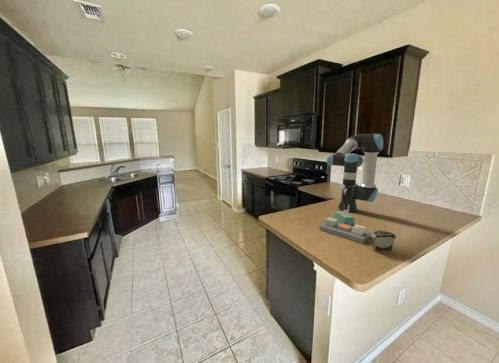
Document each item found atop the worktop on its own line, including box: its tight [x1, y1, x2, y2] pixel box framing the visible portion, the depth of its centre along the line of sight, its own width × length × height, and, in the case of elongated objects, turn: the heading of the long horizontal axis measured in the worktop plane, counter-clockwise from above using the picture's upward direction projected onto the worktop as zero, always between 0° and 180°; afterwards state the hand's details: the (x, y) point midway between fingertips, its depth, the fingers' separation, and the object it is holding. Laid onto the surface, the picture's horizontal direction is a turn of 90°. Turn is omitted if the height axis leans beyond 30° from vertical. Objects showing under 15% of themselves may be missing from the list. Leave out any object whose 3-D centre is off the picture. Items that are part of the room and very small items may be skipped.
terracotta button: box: [338, 223, 351, 232], centre depth 145 cm, size 6×6×4 cm
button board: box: [318, 222, 372, 245], centre depth 145 cm, size 14×28×3 cm, turn 45°
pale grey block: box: [352, 224, 367, 236], centre depth 138 cm, size 6×6×4 cm
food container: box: [372, 230, 397, 253], centre depth 125 cm, size 12×6×10 cm, turn 92°
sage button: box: [324, 216, 338, 227], centre depth 151 cm, size 6×6×4 cm
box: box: [333, 210, 355, 227], centre depth 161 cm, size 7×14×8 cm, turn 12°
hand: (345, 213), depth 143 cm, fingers closed
